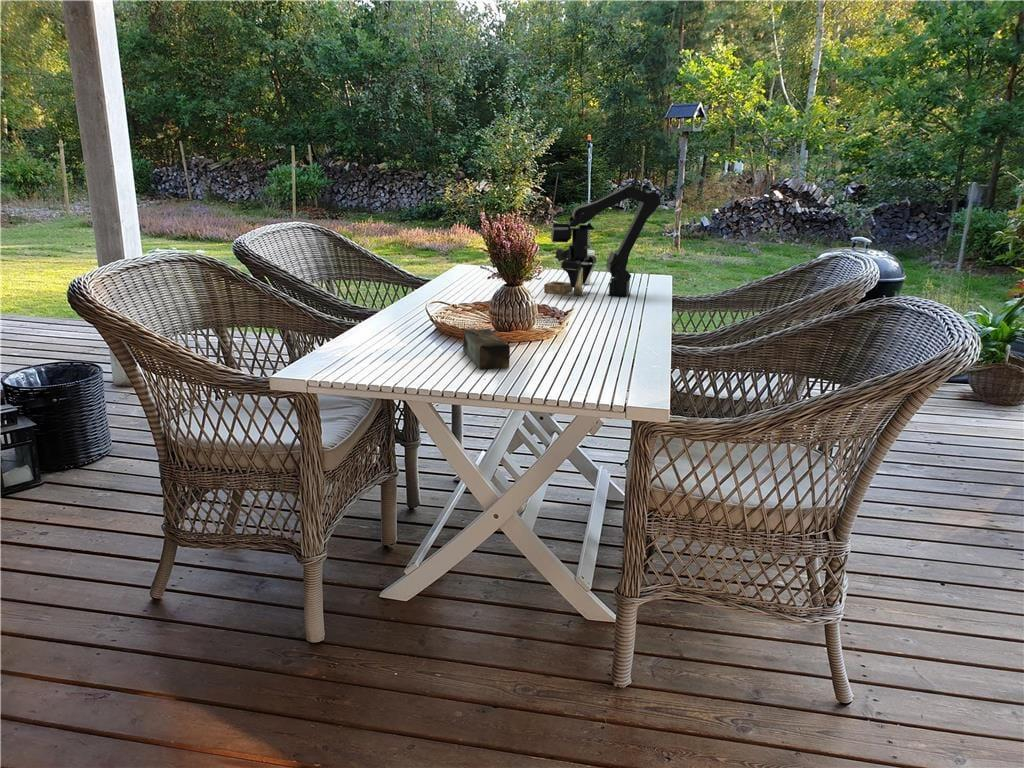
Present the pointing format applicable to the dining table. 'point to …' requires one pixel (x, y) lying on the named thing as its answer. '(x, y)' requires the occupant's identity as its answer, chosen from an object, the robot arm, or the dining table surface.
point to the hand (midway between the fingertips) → (578, 285)
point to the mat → (576, 296)
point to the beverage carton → (486, 349)
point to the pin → (579, 284)
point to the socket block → (558, 288)
